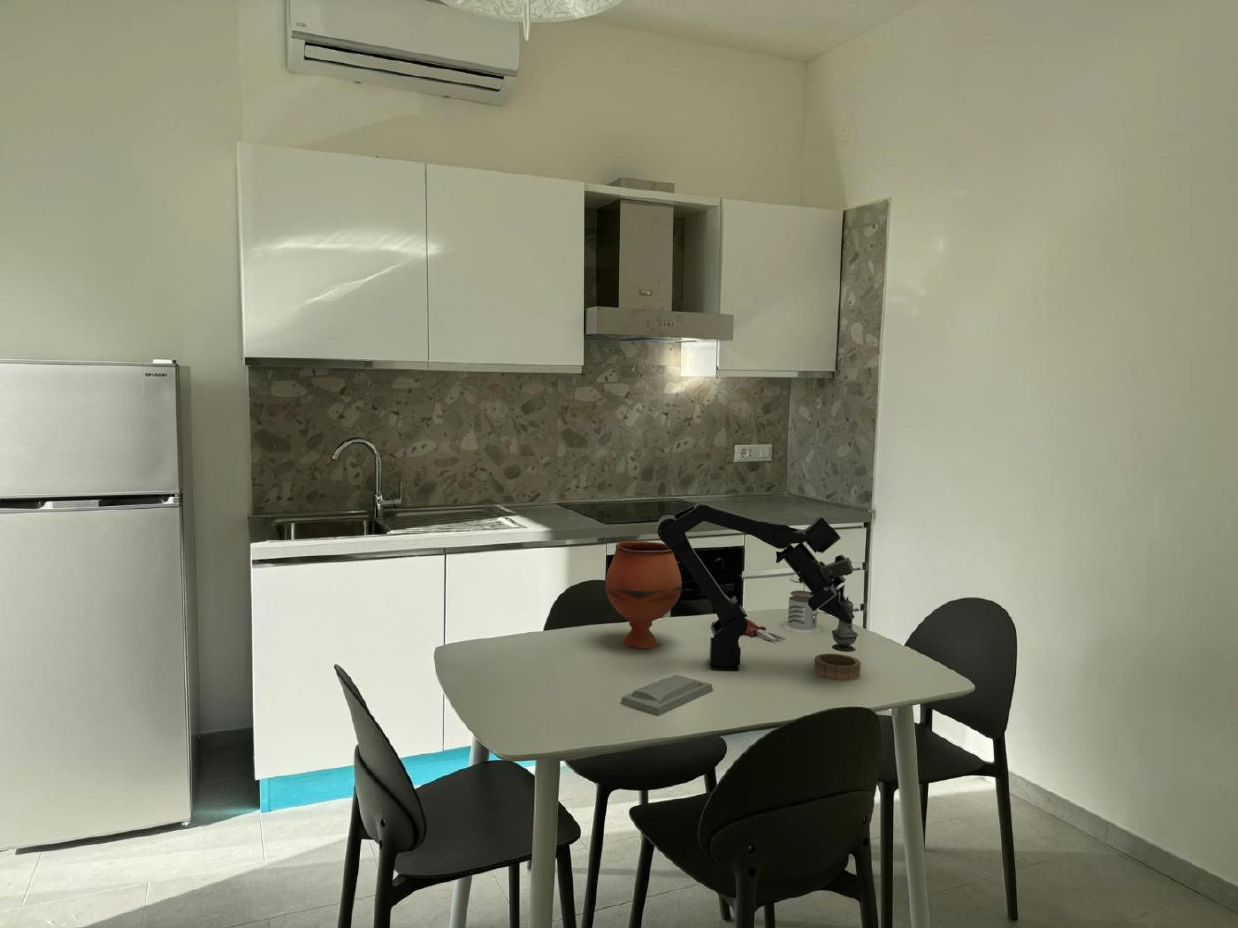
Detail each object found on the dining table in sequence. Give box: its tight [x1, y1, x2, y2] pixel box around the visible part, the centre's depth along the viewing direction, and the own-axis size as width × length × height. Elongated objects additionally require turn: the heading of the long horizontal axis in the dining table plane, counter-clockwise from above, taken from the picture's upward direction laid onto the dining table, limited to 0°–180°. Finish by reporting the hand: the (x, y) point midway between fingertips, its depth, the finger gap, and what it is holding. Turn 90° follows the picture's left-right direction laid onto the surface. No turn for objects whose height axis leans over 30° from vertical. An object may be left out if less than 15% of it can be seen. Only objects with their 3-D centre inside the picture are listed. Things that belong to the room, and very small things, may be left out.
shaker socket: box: [813, 653, 862, 681], centre depth 207 cm, size 10×10×3 cm
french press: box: [783, 542, 823, 635], centre depth 243 cm, size 10×12×25 cm
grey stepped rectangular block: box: [620, 674, 714, 717], centre depth 187 cm, size 10×20×4 cm, turn 142°
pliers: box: [710, 618, 786, 643], centre depth 237 cm, size 12×20×3 cm, turn 41°
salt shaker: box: [831, 596, 859, 653], centre depth 203 cm, size 6×6×12 cm
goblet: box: [605, 540, 683, 649], centre depth 224 cm, size 19×19×25 cm
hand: (851, 620), depth 203 cm, fingers closed on salt shaker, 4 cm apart
